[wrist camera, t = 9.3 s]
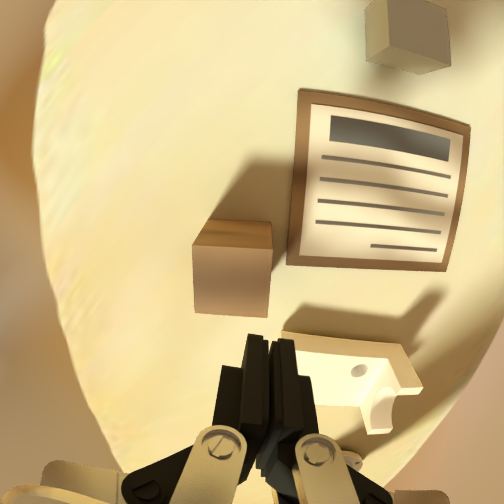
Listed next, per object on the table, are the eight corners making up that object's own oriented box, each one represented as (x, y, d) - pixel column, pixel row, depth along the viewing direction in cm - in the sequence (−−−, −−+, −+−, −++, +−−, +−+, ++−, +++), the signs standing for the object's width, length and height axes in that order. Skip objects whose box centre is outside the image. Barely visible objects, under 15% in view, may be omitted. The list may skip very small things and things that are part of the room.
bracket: (397, 338, 28) (423, 387, 21) (372, 384, 31) (388, 433, 24) (280, 324, 28) (284, 381, 21) (265, 375, 31) (264, 431, 24)
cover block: (450, 65, 14) (445, 9, 12) (389, 45, 14) (385, -13, 12) (419, 75, 19) (417, 25, 17) (365, 61, 19) (364, 10, 17)
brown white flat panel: (444, 270, 25) (446, 272, 25) (285, 263, 25) (286, 266, 25) (468, 127, 20) (471, 127, 19) (298, 90, 20) (298, 90, 20)
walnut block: (266, 278, 26) (267, 317, 20) (208, 274, 26) (194, 312, 20) (270, 222, 24) (273, 249, 18) (208, 218, 24) (191, 245, 19)
